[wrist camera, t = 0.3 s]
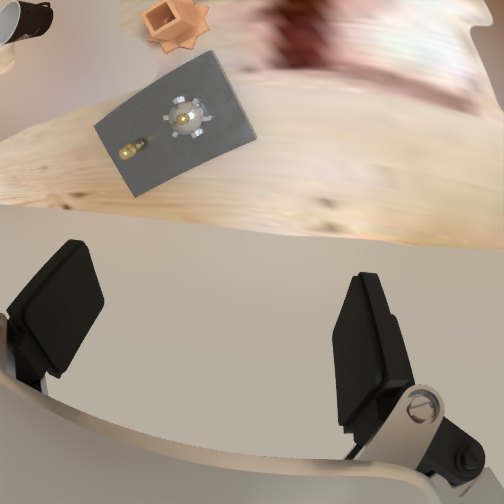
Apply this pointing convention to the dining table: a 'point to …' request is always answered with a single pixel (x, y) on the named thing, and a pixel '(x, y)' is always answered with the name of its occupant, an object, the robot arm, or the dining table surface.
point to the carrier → (175, 125)
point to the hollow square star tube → (175, 23)
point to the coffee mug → (24, 20)
